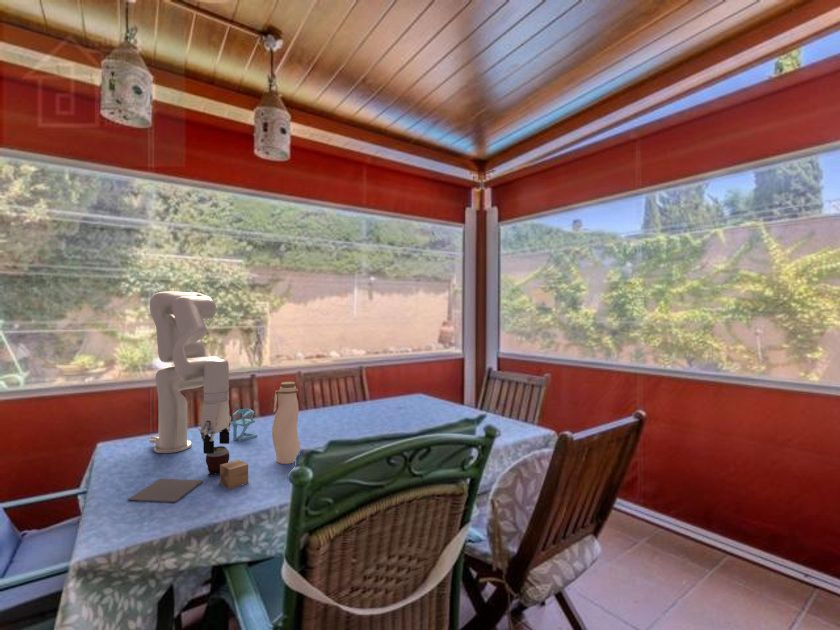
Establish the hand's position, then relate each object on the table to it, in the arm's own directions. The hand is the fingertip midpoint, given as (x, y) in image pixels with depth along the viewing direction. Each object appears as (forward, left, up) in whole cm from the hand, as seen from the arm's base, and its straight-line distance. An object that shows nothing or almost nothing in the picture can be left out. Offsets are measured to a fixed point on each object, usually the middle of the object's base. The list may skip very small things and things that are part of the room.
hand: (216, 448), depth 140 cm
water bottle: (+18, +13, -9) cm, 24 cm away
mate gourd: (0, 0, -9) cm, 9 cm away
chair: (-8, +35, -9) cm, 37 cm away
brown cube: (+9, -7, -9) cm, 14 cm away
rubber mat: (-8, -14, -8) cm, 18 cm away
